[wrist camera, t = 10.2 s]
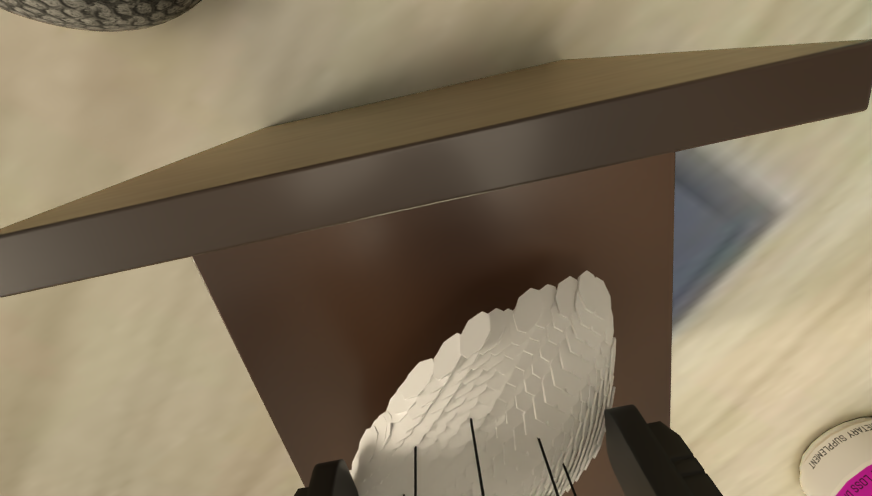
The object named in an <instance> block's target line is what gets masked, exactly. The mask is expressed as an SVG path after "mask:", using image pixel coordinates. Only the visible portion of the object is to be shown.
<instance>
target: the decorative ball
mask: <svg viewBox="0 0 872 496" xmlns="http://www.w3.org/2000/svg"><path fill="white" fill-rule="evenodd" d="M200 1H201V0H0V8H1V9H3V10H6V11H9V12H11V13H14V14H17V15H20V16H23V17H26V18H29V19H33V20H36V21H40V22H44V23H48V24H52V25H56V26H61V27H66V28H72V29H79V30H89V31H109V32H116V31H129V30H137V29H143V28H148V27H152V26H155V25H159V24H162V23H165V22H167V21H169V20H171V19H174V18H176V17H178V16H180V15H182V14H183V13H185V12H187V11H188V10H190V9H191V8H193V7H194V6H195V5H197V4H198V3H199V2H200Z"/></svg>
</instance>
